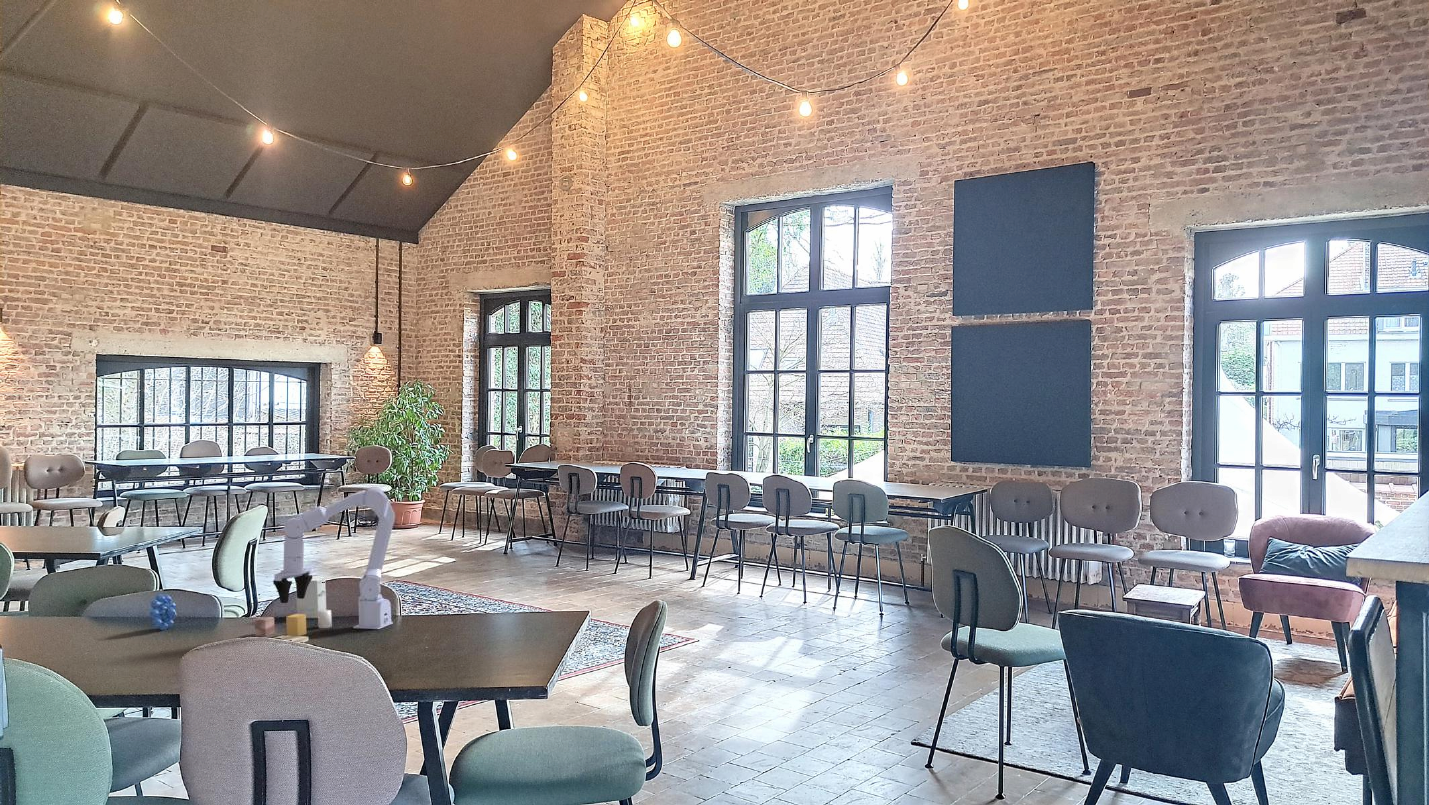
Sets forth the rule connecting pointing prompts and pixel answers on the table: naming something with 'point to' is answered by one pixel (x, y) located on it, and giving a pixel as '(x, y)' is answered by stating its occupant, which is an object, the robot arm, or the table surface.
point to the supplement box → (313, 598)
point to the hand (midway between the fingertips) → (292, 600)
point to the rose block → (264, 626)
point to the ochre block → (296, 624)
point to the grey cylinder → (324, 619)
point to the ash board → (294, 638)
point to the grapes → (163, 611)
